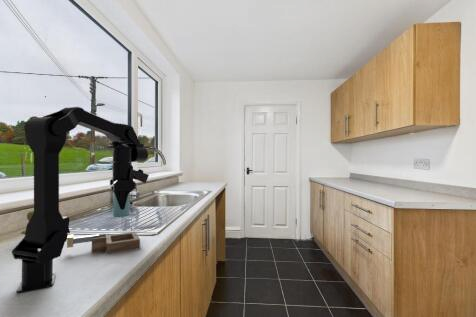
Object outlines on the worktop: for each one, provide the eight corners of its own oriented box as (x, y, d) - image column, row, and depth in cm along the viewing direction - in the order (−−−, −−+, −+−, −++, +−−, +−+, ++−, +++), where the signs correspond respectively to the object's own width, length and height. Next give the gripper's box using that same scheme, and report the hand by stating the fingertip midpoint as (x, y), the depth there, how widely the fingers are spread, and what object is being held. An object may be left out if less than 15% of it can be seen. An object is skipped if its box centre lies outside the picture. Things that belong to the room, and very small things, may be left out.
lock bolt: (99, 243, 80) (99, 233, 80) (67, 247, 75) (67, 237, 75) (98, 240, 82) (98, 231, 82) (67, 244, 78) (67, 235, 78)
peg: (130, 216, 84) (130, 189, 84) (114, 217, 81) (114, 190, 81) (128, 213, 88) (128, 187, 88) (112, 214, 86) (113, 188, 86)
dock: (139, 248, 83) (139, 235, 83) (91, 256, 76) (91, 241, 76) (135, 239, 91) (135, 227, 91) (91, 246, 84) (91, 233, 84)
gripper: (152, 162, 81) (152, 210, 81) (142, 161, 97) (141, 201, 97) (114, 162, 75) (113, 214, 75) (109, 161, 91) (109, 204, 91)
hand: (121, 208), depth 85 cm, fingers closed on peg, 5 cm apart
